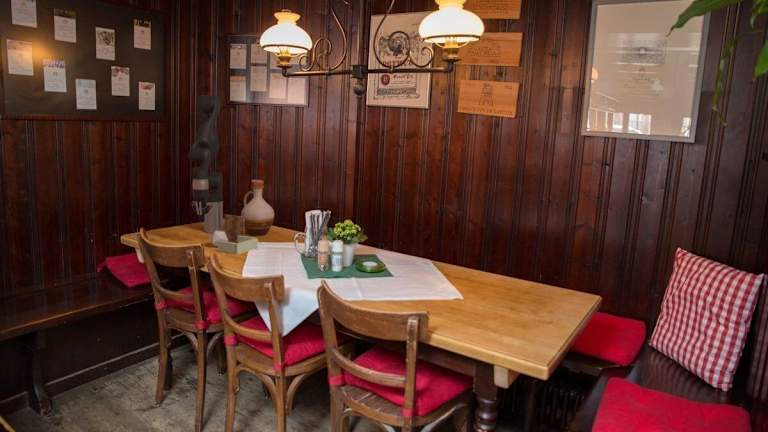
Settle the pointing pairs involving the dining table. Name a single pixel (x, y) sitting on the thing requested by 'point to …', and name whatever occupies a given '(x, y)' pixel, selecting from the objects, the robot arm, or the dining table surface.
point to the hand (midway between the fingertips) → (201, 222)
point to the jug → (257, 211)
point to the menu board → (234, 227)
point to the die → (218, 238)
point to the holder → (238, 245)
